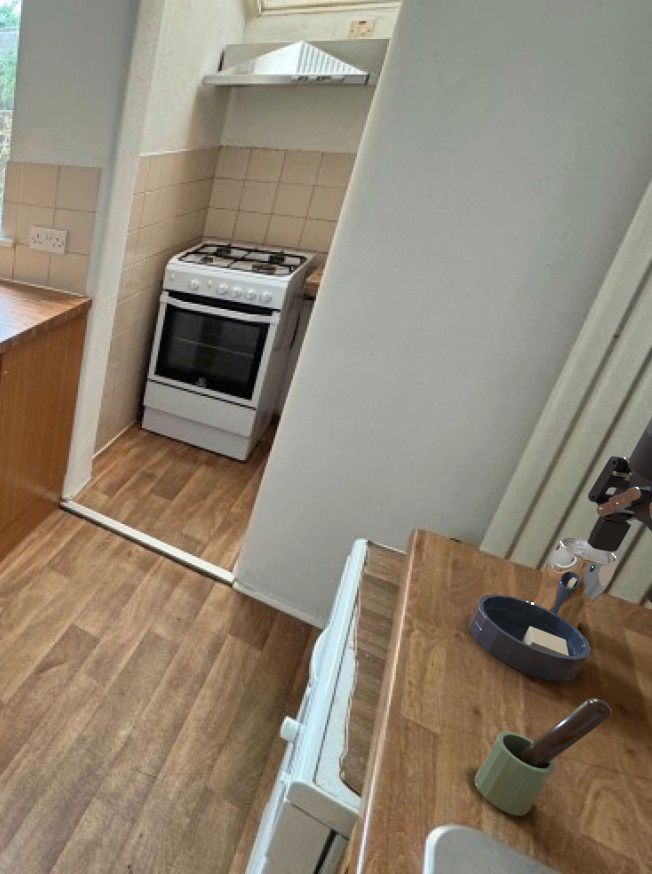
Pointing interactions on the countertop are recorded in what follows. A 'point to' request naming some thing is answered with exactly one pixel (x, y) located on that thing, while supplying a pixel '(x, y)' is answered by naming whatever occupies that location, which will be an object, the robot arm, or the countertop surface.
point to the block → (545, 641)
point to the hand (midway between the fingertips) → (629, 574)
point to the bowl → (506, 627)
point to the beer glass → (574, 578)
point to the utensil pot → (511, 775)
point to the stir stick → (565, 733)
